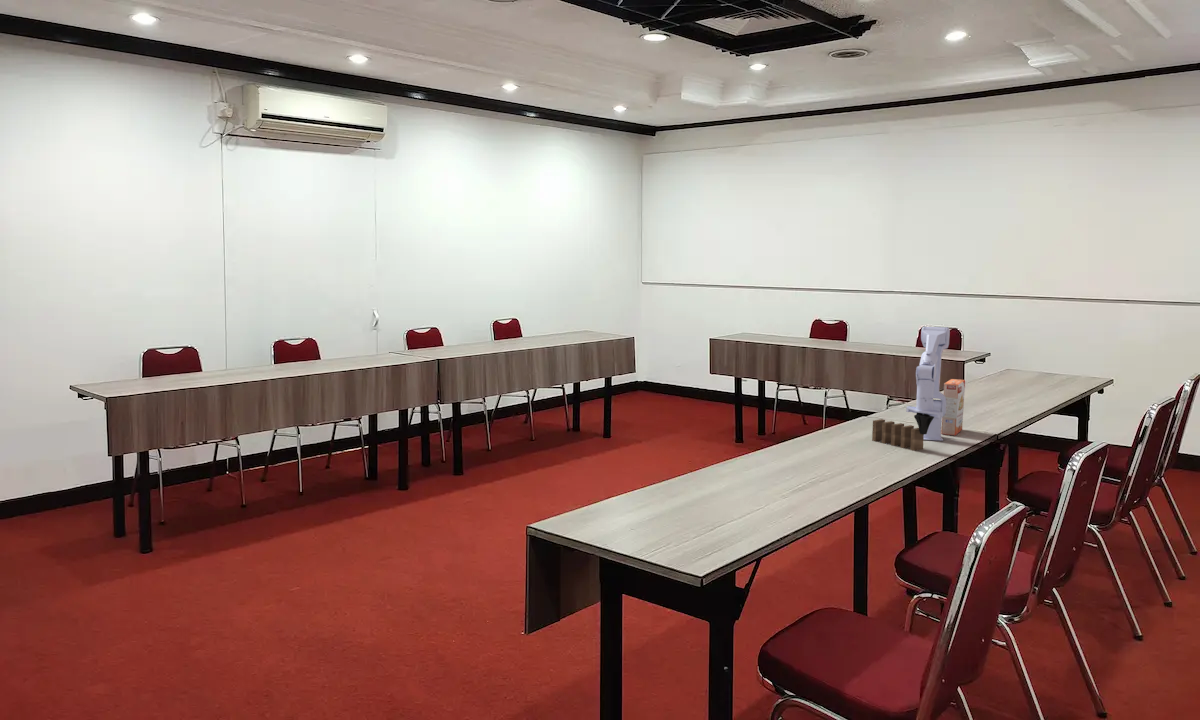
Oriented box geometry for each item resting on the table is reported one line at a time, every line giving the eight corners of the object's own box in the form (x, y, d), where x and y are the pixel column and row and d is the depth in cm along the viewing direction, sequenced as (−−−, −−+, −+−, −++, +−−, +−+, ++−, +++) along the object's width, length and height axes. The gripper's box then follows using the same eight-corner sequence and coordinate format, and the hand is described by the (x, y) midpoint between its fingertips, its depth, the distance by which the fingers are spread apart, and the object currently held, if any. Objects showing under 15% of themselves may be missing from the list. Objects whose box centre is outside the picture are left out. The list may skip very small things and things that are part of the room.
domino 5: (910, 450, 315) (911, 428, 314) (919, 448, 318) (920, 427, 316) (914, 450, 314) (914, 429, 313) (923, 449, 316) (923, 428, 315)
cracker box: (956, 436, 337) (959, 384, 334) (940, 434, 340) (943, 383, 337) (963, 429, 348) (966, 379, 345) (947, 428, 351) (950, 378, 349)
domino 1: (884, 439, 332) (885, 419, 331) (875, 441, 329) (876, 421, 328) (881, 439, 333) (881, 419, 332) (872, 440, 330) (872, 420, 329)
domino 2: (881, 442, 327) (882, 422, 325) (890, 441, 329) (891, 421, 328) (884, 443, 325) (885, 423, 324) (893, 442, 328) (894, 421, 327)
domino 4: (900, 447, 319) (901, 426, 318) (909, 445, 321) (910, 425, 320) (904, 448, 318) (904, 427, 316) (913, 446, 320) (913, 425, 319)
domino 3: (890, 445, 323) (891, 424, 322) (899, 443, 325) (900, 423, 324) (894, 446, 321) (895, 425, 320) (903, 444, 324) (904, 423, 323)
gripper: (901, 395, 315) (899, 431, 317) (934, 401, 303) (932, 439, 304) (914, 393, 318) (912, 429, 320) (947, 399, 306) (945, 436, 308)
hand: (923, 434), depth 313 cm, fingers closed
